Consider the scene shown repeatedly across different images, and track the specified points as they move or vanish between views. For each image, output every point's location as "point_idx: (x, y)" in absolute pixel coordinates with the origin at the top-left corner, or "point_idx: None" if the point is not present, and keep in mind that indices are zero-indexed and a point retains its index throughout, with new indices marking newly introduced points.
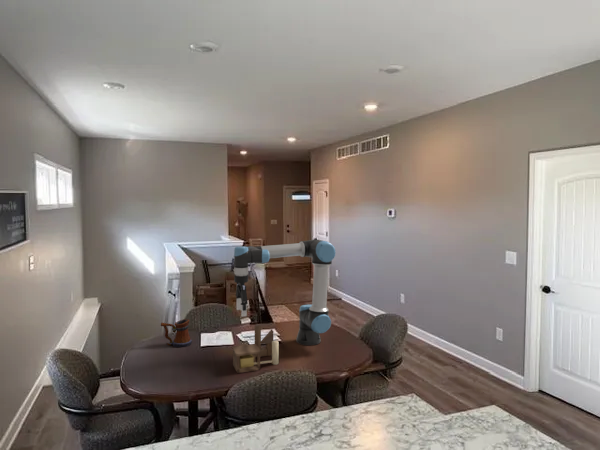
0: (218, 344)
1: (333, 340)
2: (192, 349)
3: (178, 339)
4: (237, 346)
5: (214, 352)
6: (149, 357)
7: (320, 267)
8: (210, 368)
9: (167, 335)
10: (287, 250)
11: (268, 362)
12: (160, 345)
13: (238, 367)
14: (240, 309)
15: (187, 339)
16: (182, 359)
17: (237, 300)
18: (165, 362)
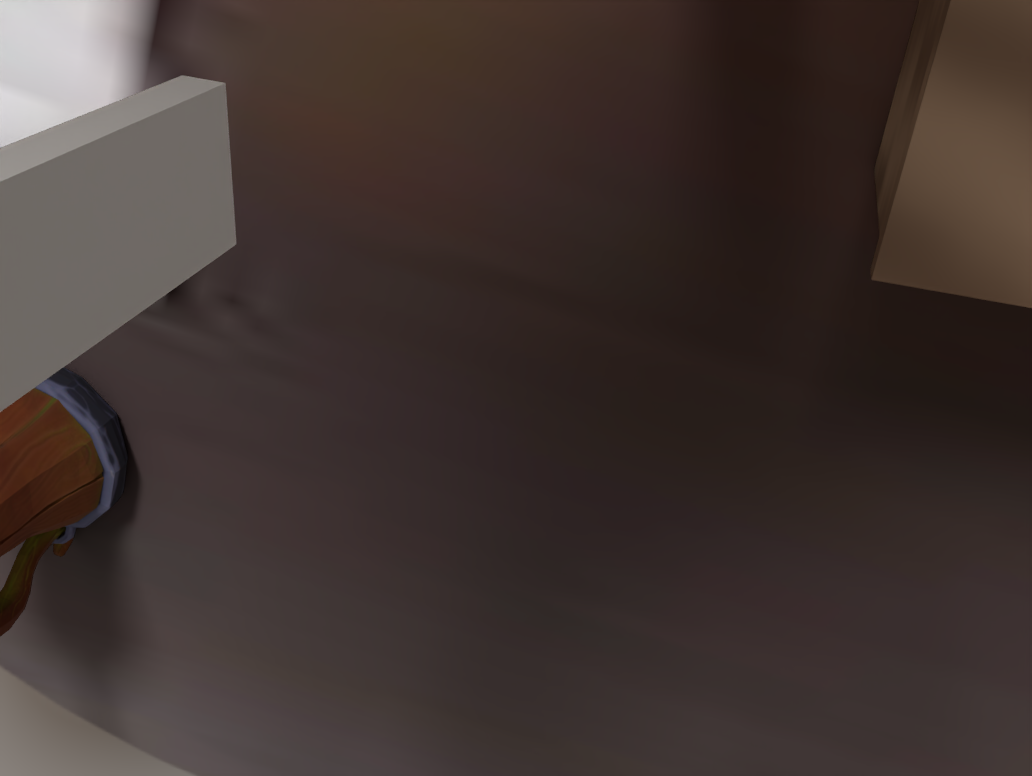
0: (116, 97)
1: None
2: (213, 397)
3: (62, 518)
4: (926, 196)
5: (365, 230)
6: (312, 719)
7: None
8: (825, 430)
9: (9, 608)
10: None
11: None
12: (59, 579)
13: None
14: (223, 127)
15: (51, 434)
16: (449, 554)
17: (1, 381)
18: (466, 675)
